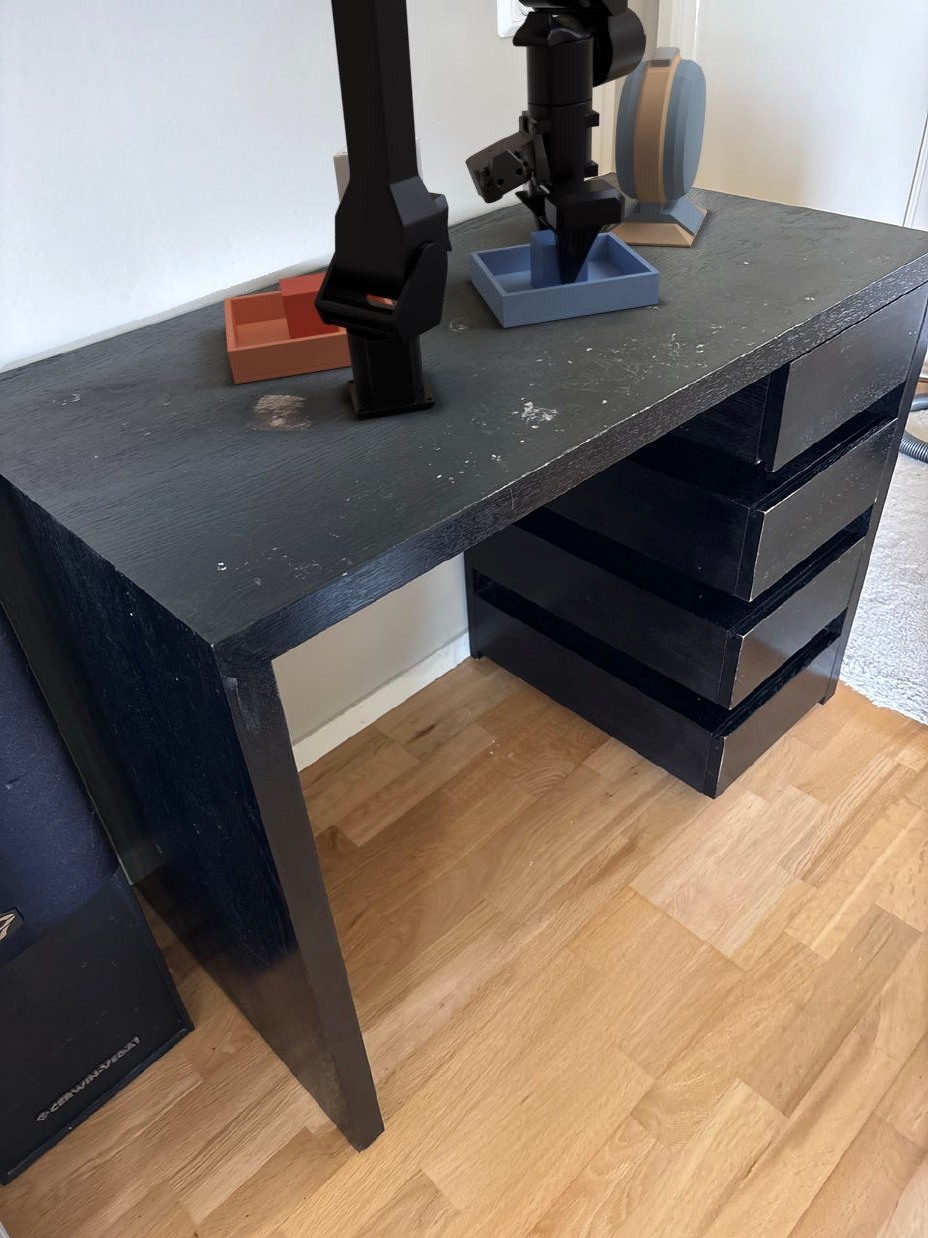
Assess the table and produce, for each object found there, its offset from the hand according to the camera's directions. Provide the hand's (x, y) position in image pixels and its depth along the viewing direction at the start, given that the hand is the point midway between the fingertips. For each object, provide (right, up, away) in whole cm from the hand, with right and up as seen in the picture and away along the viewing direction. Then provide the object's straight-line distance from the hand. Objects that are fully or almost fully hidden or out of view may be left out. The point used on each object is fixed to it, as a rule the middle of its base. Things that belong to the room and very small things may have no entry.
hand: (560, 277), depth 91 cm
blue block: (0, -1, +1) cm, 1 cm away
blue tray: (0, -1, +1) cm, 2 cm away
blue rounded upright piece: (+12, +11, +15) cm, 22 cm away
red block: (-23, -7, -5) cm, 25 cm away
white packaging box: (-17, +4, +9) cm, 20 cm away
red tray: (-24, -8, -5) cm, 25 cm away
